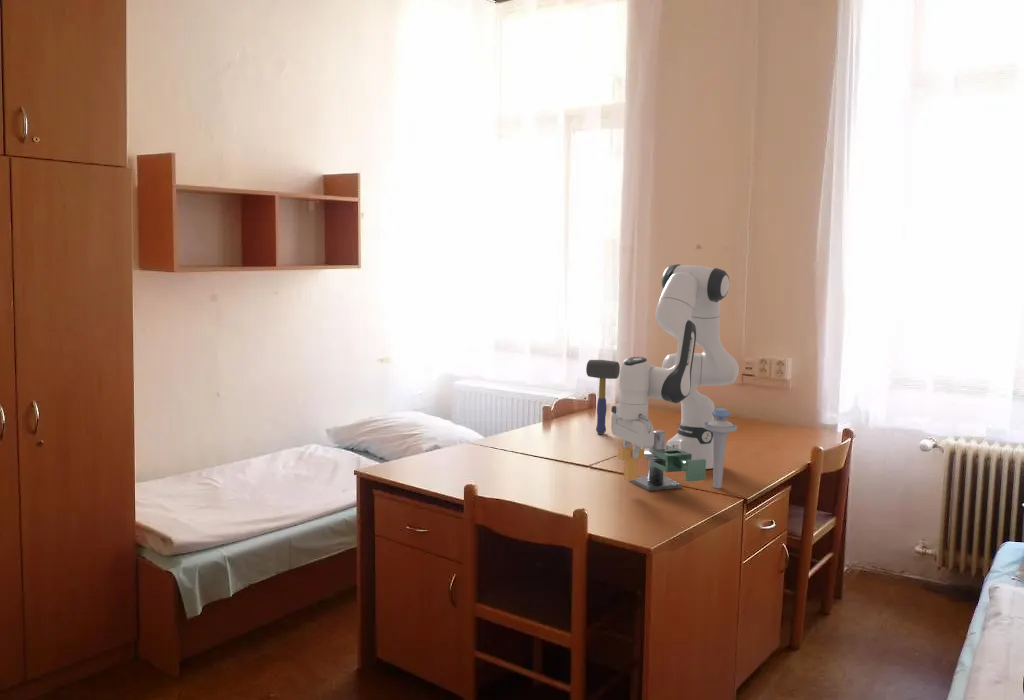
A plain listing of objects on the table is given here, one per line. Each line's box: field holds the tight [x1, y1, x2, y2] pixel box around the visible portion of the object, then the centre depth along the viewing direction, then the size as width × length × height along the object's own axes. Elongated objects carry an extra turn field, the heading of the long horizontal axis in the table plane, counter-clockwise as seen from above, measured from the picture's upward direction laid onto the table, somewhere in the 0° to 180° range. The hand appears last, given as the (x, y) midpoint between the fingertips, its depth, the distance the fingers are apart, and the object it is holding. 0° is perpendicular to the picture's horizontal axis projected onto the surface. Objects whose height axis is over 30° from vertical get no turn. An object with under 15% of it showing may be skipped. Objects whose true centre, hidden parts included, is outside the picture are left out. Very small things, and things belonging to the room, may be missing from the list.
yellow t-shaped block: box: [617, 446, 645, 482], centre depth 262 cm, size 2×8×10 cm, turn 112°
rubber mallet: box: [585, 359, 621, 435], centre depth 346 cm, size 12×8×30 cm, turn 67°
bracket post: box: [629, 429, 707, 492], centre depth 266 cm, size 29×13×17 cm, turn 22°
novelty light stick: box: [704, 407, 738, 489], centre depth 271 cm, size 10×10×25 cm
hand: (631, 456), depth 262 cm, fingers closed on yellow t-shaped block, 2 cm apart
